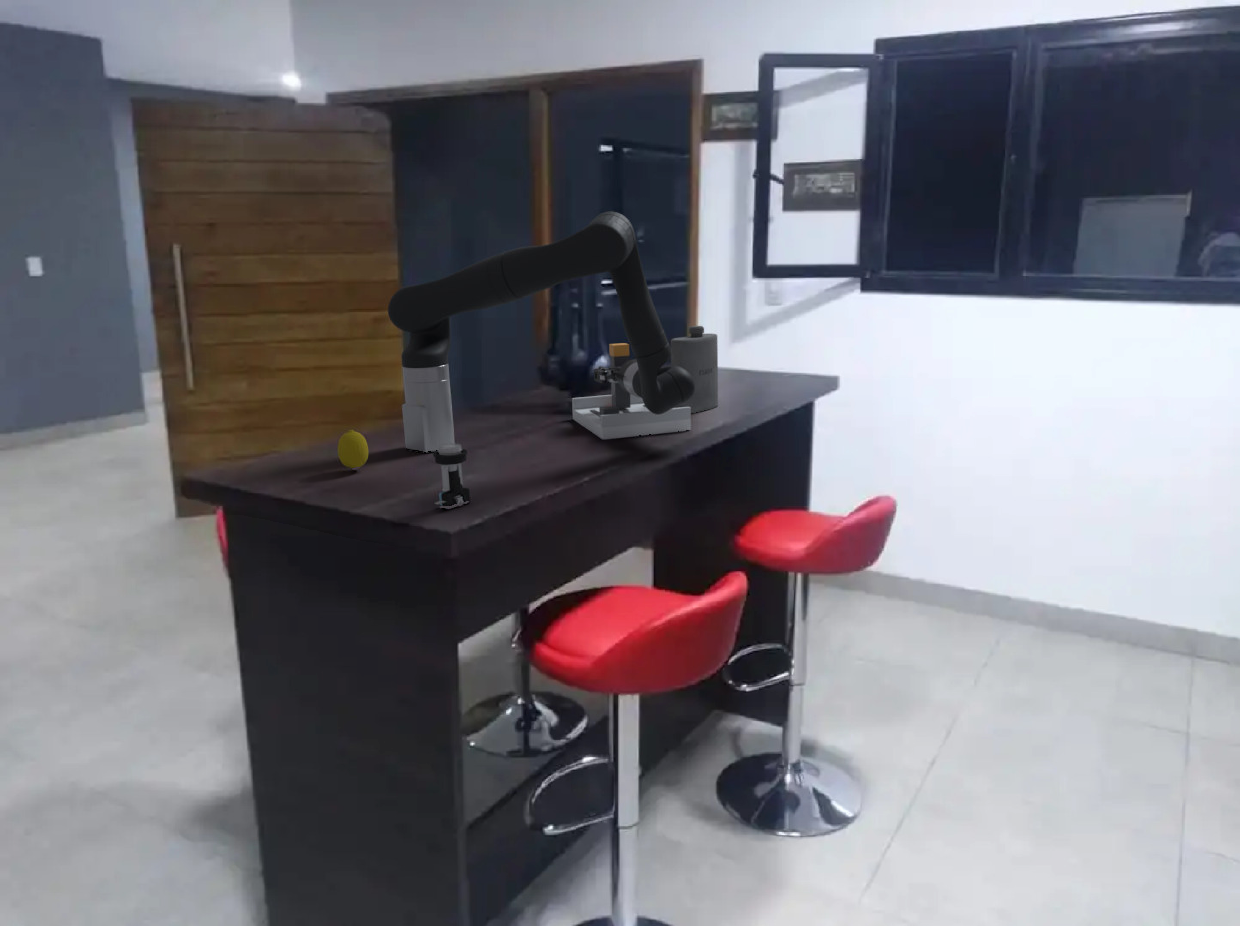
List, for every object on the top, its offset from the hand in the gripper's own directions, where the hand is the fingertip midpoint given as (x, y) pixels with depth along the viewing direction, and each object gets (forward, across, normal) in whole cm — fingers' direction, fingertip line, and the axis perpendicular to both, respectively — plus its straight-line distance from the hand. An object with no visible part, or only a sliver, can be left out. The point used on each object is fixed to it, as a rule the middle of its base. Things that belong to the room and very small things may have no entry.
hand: (617, 369), depth 209 cm
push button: (-56, +46, +12) cm, 74 cm away
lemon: (-24, +60, +12) cm, 66 cm away
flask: (+2, -20, +12) cm, 23 cm away
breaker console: (-8, 0, +12) cm, 14 cm away
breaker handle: (-2, 0, +8) cm, 9 cm away
